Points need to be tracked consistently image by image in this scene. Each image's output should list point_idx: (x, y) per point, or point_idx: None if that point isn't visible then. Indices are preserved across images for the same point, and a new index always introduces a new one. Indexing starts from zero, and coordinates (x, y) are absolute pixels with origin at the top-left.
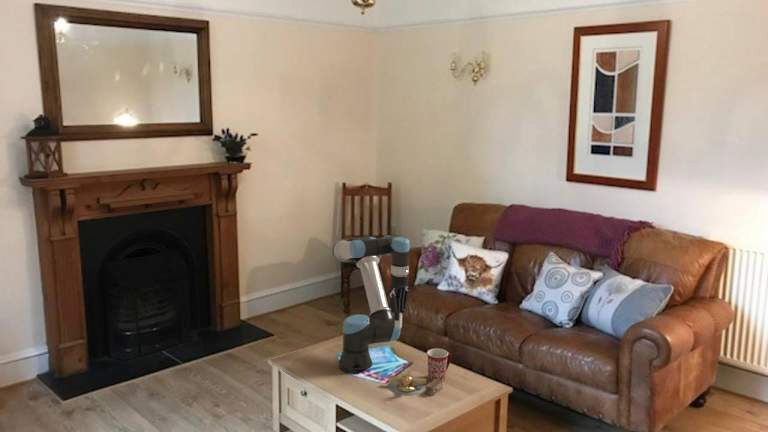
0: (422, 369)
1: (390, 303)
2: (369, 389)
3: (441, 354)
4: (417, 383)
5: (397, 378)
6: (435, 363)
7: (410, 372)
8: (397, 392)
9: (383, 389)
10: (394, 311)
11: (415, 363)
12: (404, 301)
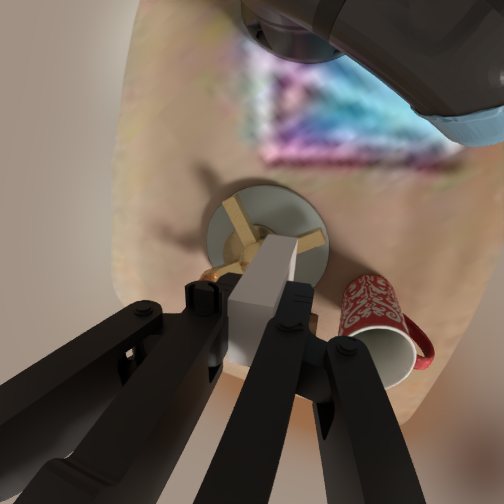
0: (428, 224)
1: (32, 368)
2: (197, 146)
3: (405, 350)
4: (303, 268)
5: (237, 232)
6: None
7: (310, 248)
8: (214, 242)
9: (224, 182)
10: (132, 349)
11: (457, 182)
12: (329, 472)
